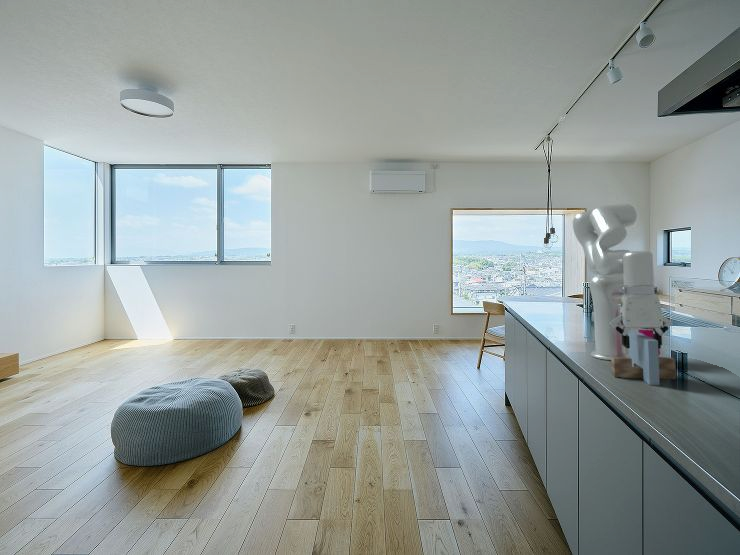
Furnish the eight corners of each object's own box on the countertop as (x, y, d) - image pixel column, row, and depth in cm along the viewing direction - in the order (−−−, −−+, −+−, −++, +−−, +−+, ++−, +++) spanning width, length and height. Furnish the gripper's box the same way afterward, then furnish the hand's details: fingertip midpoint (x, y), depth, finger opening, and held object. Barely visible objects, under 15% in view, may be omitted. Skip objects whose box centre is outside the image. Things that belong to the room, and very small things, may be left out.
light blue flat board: (629, 369, 121) (627, 331, 120) (637, 370, 120) (635, 331, 120) (649, 384, 105) (648, 340, 105) (659, 385, 105) (657, 340, 104)
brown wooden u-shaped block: (614, 377, 114) (613, 358, 114) (612, 375, 116) (611, 356, 116) (676, 379, 109) (675, 359, 109) (672, 376, 111) (671, 357, 111)
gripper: (610, 293, 111) (613, 350, 111) (679, 290, 106) (681, 350, 106) (603, 291, 118) (605, 345, 119) (666, 289, 113) (669, 345, 113)
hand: (641, 347), depth 112 cm, fingers open, 7 cm apart
